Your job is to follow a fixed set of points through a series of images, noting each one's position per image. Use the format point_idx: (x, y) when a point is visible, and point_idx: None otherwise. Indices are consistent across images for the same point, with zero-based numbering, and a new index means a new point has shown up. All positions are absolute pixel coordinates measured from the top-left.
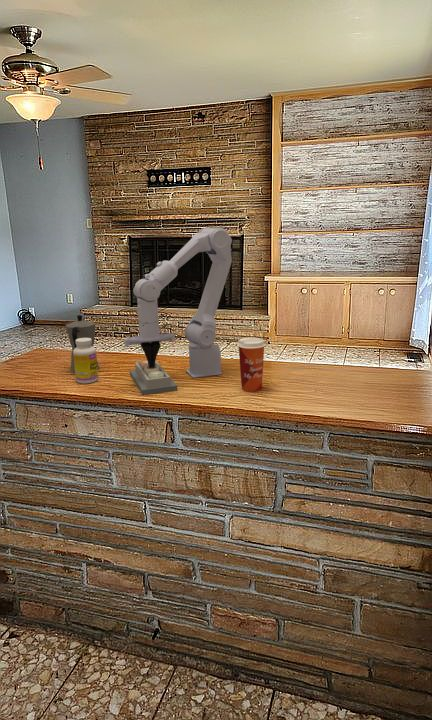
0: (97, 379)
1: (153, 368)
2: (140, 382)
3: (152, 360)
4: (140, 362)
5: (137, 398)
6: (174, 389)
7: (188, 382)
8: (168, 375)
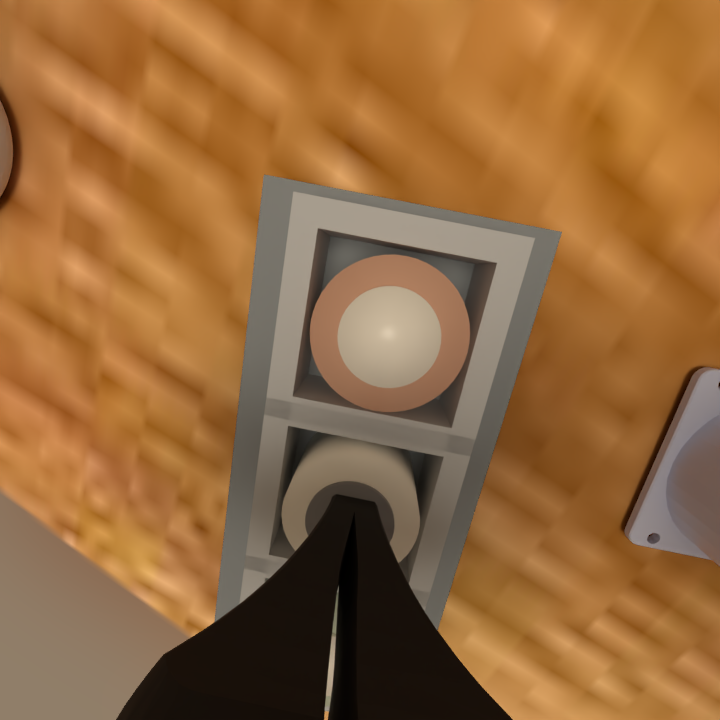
0: (3, 187)
1: None
2: (246, 516)
3: (336, 631)
4: (319, 303)
5: (191, 625)
6: None
7: (549, 573)
8: None
